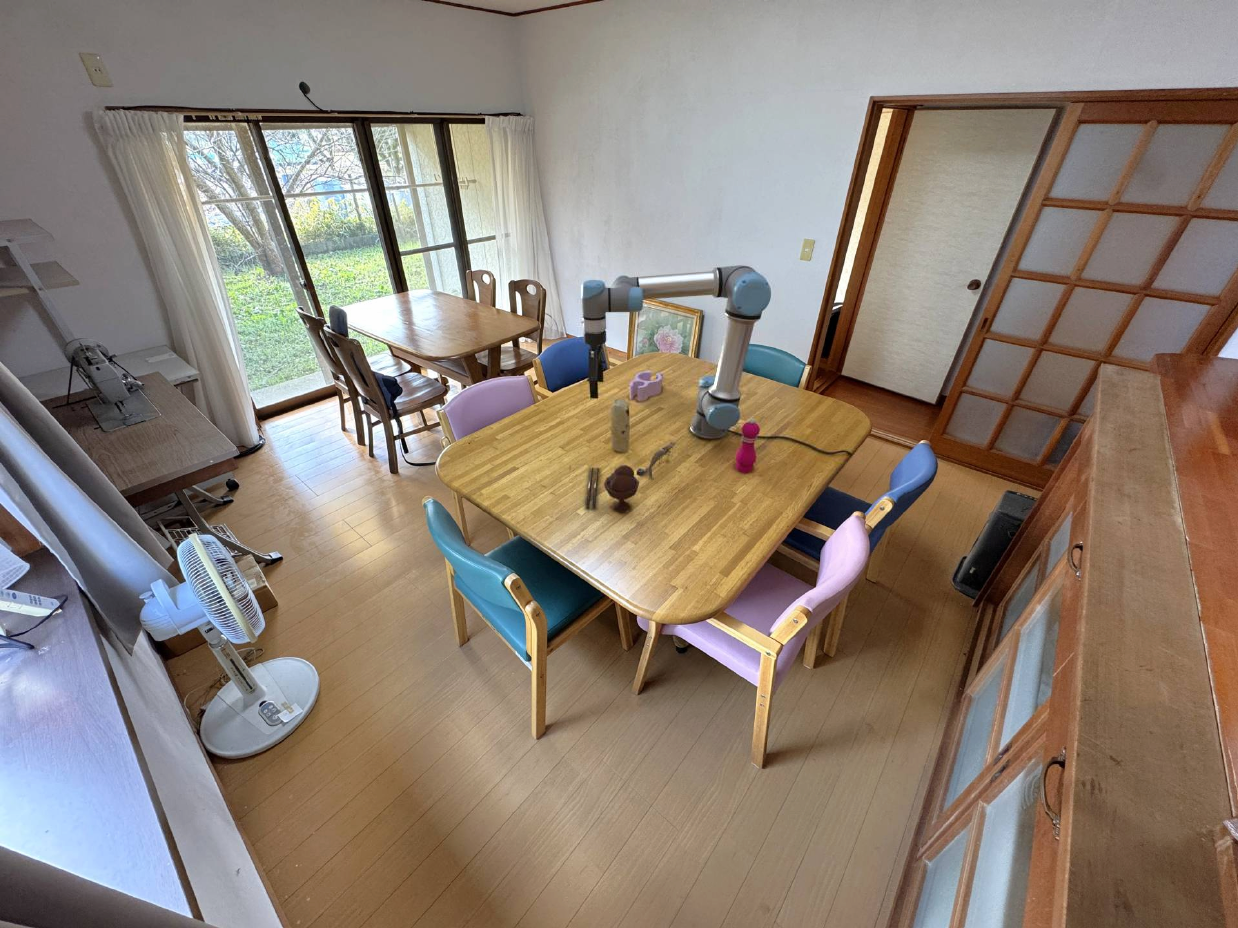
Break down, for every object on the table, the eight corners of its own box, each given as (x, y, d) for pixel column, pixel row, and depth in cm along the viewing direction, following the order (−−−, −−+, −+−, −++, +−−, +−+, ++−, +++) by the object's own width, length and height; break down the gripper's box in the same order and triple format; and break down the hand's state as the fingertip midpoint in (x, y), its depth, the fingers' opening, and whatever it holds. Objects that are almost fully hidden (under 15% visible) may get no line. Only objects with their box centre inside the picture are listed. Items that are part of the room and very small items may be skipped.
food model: (633, 452, 183) (634, 405, 172) (617, 456, 181) (616, 408, 170) (623, 440, 190) (623, 394, 179) (607, 443, 188) (606, 397, 177)
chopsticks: (598, 469, 174) (598, 467, 173) (595, 509, 155) (594, 507, 154) (590, 469, 174) (590, 467, 173) (586, 509, 155) (585, 507, 154)
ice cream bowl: (603, 497, 160) (602, 460, 151) (636, 496, 160) (637, 458, 152) (605, 518, 151) (604, 479, 142) (640, 516, 152) (641, 477, 143)
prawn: (662, 447, 186) (663, 432, 182) (689, 457, 180) (690, 441, 176) (625, 478, 169) (625, 461, 165) (653, 489, 163) (653, 472, 159)
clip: (646, 403, 217) (647, 389, 213) (622, 397, 223) (622, 383, 219) (666, 387, 231) (667, 374, 227) (644, 382, 237) (644, 368, 233)
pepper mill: (742, 475, 170) (751, 426, 159) (729, 465, 175) (737, 417, 164) (758, 470, 173) (768, 421, 162) (745, 460, 178) (753, 412, 167)
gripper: (589, 318, 169) (591, 375, 181) (576, 343, 148) (580, 405, 160) (610, 319, 168) (611, 375, 180) (600, 344, 148) (602, 406, 159)
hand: (597, 389), depth 170 cm, fingers open, 13 cm apart
